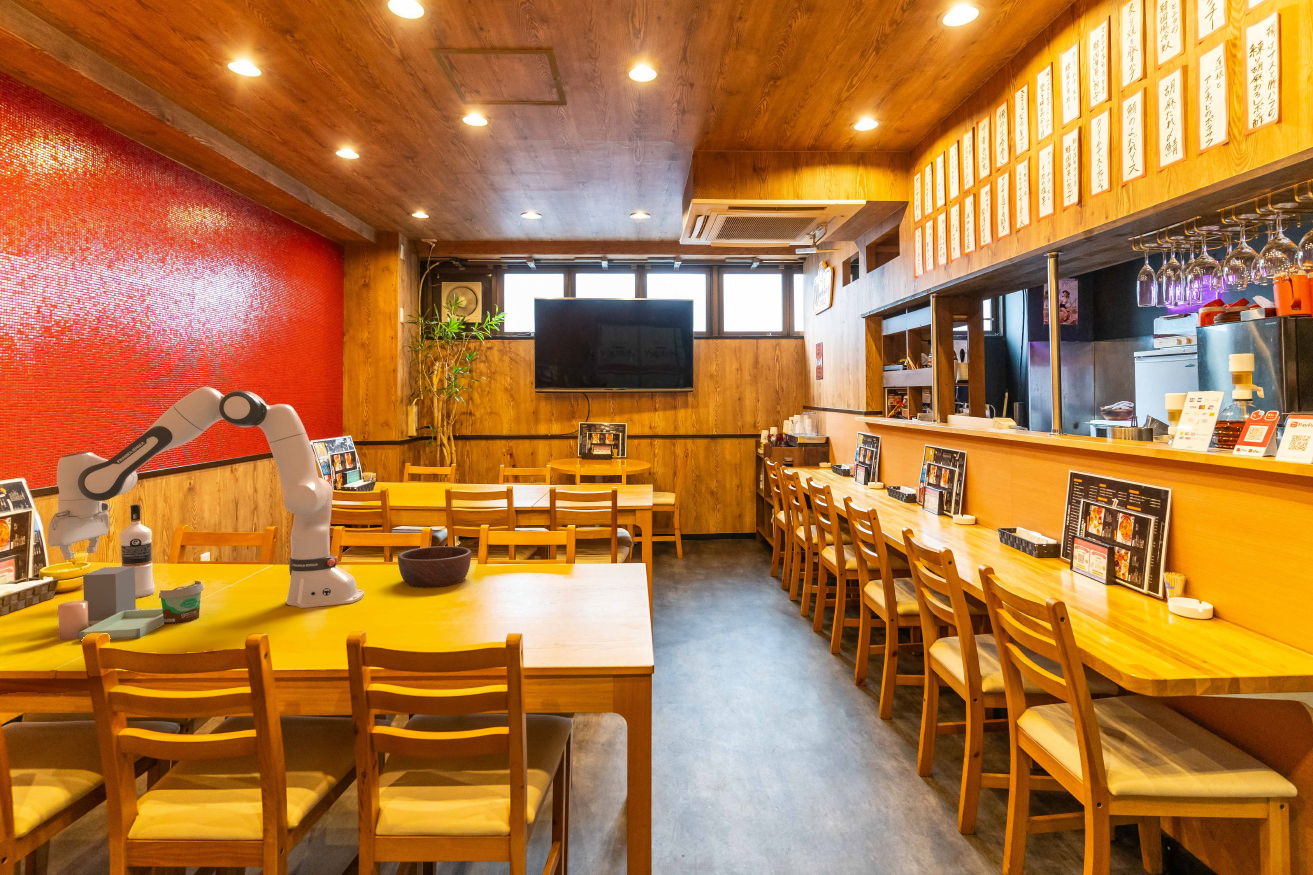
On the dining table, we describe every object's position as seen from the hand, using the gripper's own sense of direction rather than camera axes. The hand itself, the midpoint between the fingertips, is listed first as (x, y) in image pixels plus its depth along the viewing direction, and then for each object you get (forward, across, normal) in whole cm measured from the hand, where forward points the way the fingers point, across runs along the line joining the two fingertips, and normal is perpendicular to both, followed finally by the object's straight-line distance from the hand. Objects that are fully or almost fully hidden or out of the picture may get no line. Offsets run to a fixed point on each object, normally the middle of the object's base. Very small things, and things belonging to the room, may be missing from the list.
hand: (80, 556), depth 195 cm
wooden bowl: (+20, +32, -93) cm, 100 cm away
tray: (+19, -11, -19) cm, 29 cm away
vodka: (+19, +27, +1) cm, 33 cm away
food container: (+19, -5, -30) cm, 36 cm away
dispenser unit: (+19, +1, -7) cm, 20 cm away
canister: (+19, -16, -8) cm, 26 cm away
